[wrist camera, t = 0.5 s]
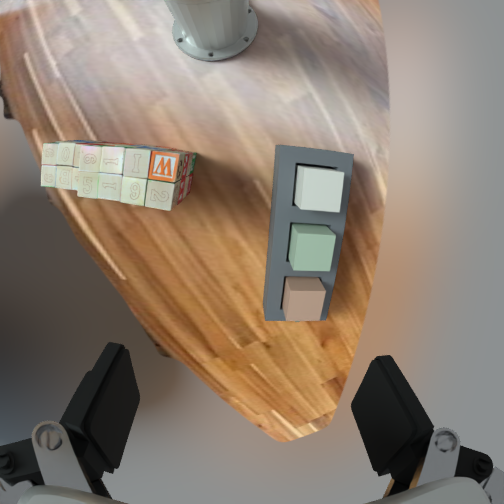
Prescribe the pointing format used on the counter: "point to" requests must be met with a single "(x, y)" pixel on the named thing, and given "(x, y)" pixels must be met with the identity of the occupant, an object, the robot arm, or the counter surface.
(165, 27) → the counter surface
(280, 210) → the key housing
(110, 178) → the stack of blocks
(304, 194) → the key cream
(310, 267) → the key sage
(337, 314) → the counter surface
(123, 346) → the robot arm
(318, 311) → the beige cube
